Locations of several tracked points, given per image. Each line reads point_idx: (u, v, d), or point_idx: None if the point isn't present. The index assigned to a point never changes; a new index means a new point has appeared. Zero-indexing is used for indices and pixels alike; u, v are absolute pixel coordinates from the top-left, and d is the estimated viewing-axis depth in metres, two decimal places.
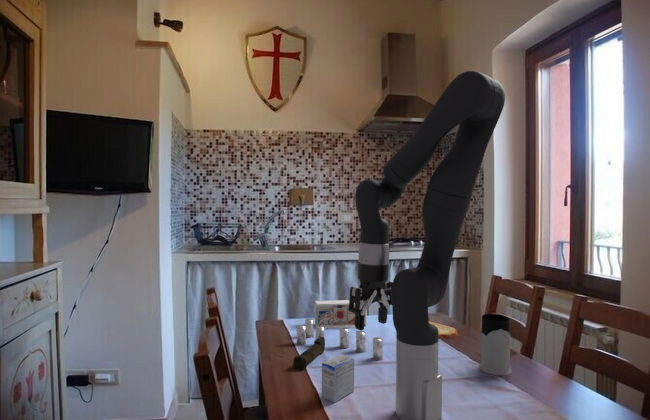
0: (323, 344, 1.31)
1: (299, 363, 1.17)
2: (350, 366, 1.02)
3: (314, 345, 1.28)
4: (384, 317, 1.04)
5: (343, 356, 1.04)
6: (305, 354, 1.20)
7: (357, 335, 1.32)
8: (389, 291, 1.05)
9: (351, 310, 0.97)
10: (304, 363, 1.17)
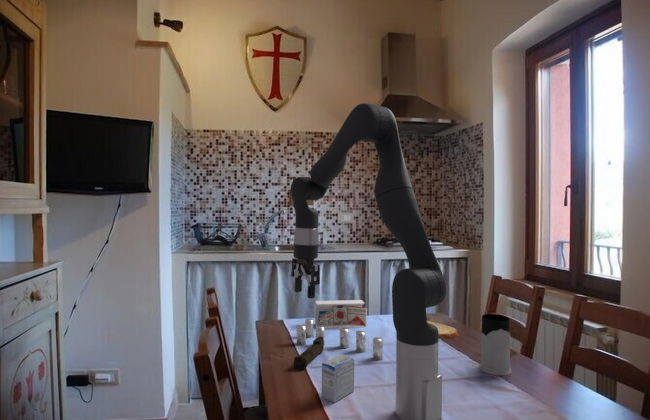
0: (322, 344, 1.31)
1: (299, 363, 1.17)
2: (350, 366, 1.02)
3: (313, 345, 1.28)
4: (301, 286, 1.30)
5: (343, 356, 1.04)
6: (305, 354, 1.20)
7: (357, 335, 1.32)
8: None
9: (315, 283, 1.20)
10: (304, 363, 1.17)
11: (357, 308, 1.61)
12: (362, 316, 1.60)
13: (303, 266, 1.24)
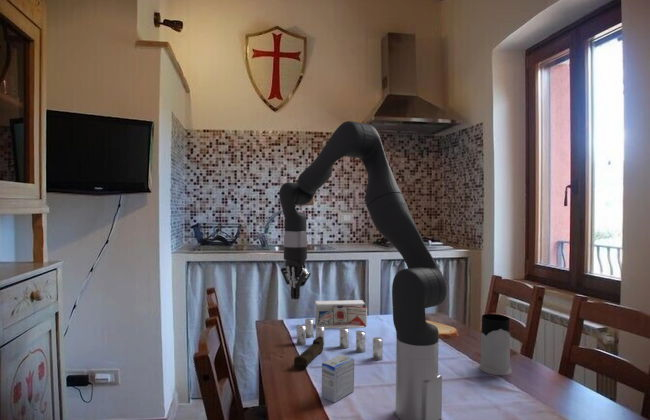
0: (322, 344, 1.31)
1: (300, 363, 1.17)
2: (350, 366, 1.02)
3: (313, 345, 1.28)
4: None
5: (343, 356, 1.04)
6: (305, 354, 1.20)
7: (357, 335, 1.32)
8: None
9: (300, 284, 1.29)
10: (305, 363, 1.17)
11: (357, 308, 1.60)
12: (362, 316, 1.60)
13: (294, 269, 1.29)
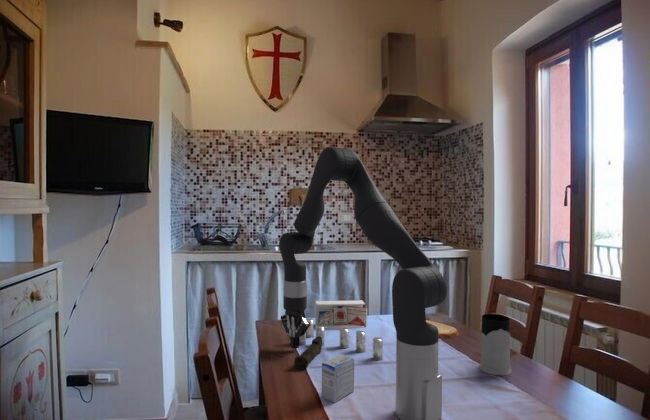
0: (321, 343, 1.32)
1: (300, 363, 1.17)
2: (350, 366, 1.02)
3: (312, 345, 1.28)
4: None
5: (343, 356, 1.04)
6: (306, 354, 1.20)
7: (357, 335, 1.32)
8: None
9: (300, 334, 1.30)
10: (306, 363, 1.17)
11: (357, 308, 1.60)
12: (363, 316, 1.59)
13: (294, 319, 1.30)
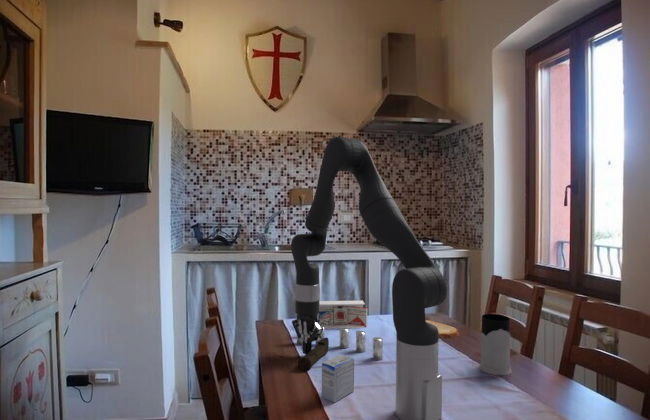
0: (327, 345, 1.31)
1: (304, 364, 1.17)
2: (350, 366, 1.02)
3: (318, 346, 1.27)
4: None
5: (343, 356, 1.04)
6: (310, 355, 1.20)
7: (357, 335, 1.32)
8: None
9: (313, 340, 1.25)
10: (309, 364, 1.16)
11: (357, 309, 1.60)
12: (363, 316, 1.59)
13: (307, 324, 1.25)
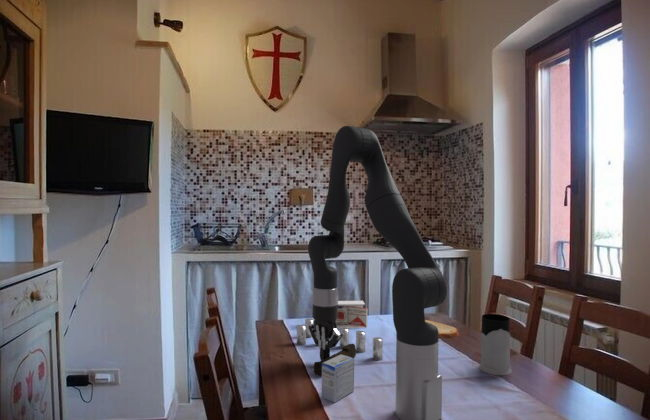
0: (352, 351, 1.25)
1: (318, 369, 1.13)
2: (350, 366, 1.02)
3: (341, 352, 1.22)
4: None
5: (343, 356, 1.04)
6: (327, 360, 1.16)
7: (357, 335, 1.32)
8: None
9: (331, 346, 1.19)
10: None
11: (358, 309, 1.60)
12: (363, 316, 1.59)
13: (325, 329, 1.19)
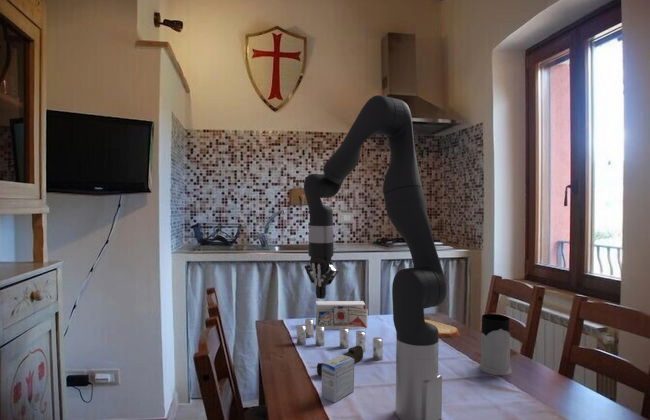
0: (358, 353, 1.23)
1: (321, 371, 1.12)
2: (350, 366, 1.02)
3: (346, 353, 1.21)
4: None
5: (343, 356, 1.04)
6: None
7: (357, 335, 1.32)
8: None
9: (327, 283, 1.21)
10: None
11: (358, 309, 1.59)
12: (363, 317, 1.58)
13: (321, 266, 1.21)
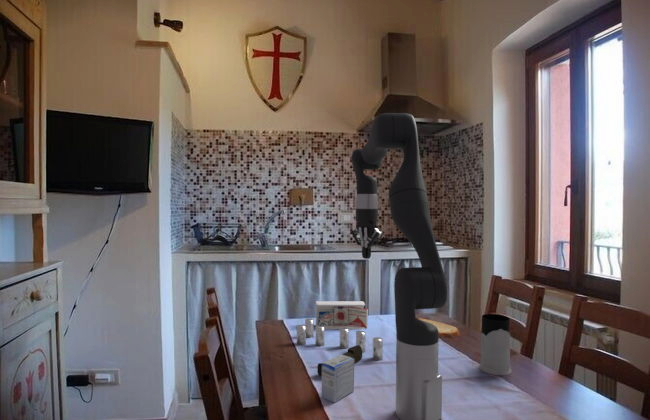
0: (358, 353, 1.23)
1: None
2: (350, 366, 1.02)
3: (346, 353, 1.21)
4: None
5: (343, 356, 1.04)
6: None
7: (357, 335, 1.32)
8: (359, 234, 1.44)
9: (373, 244, 1.38)
10: None
11: (358, 309, 1.59)
12: (363, 317, 1.58)
13: (367, 229, 1.38)
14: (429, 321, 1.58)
